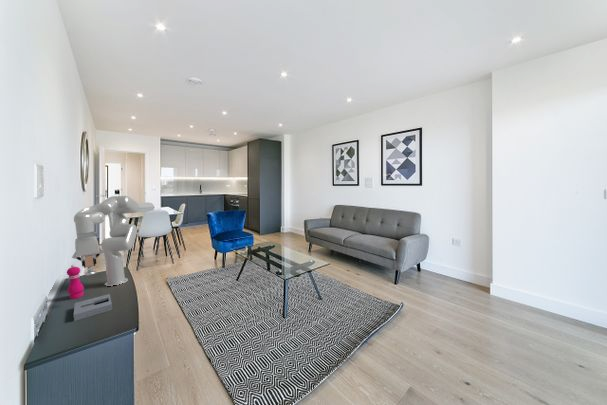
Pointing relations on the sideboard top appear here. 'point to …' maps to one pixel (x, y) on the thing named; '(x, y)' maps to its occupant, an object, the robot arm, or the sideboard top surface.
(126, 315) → the sideboard top surface
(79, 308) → the keyhole board
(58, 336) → the sideboard top surface
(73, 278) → the pepper mill
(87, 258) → the keyhole peg
